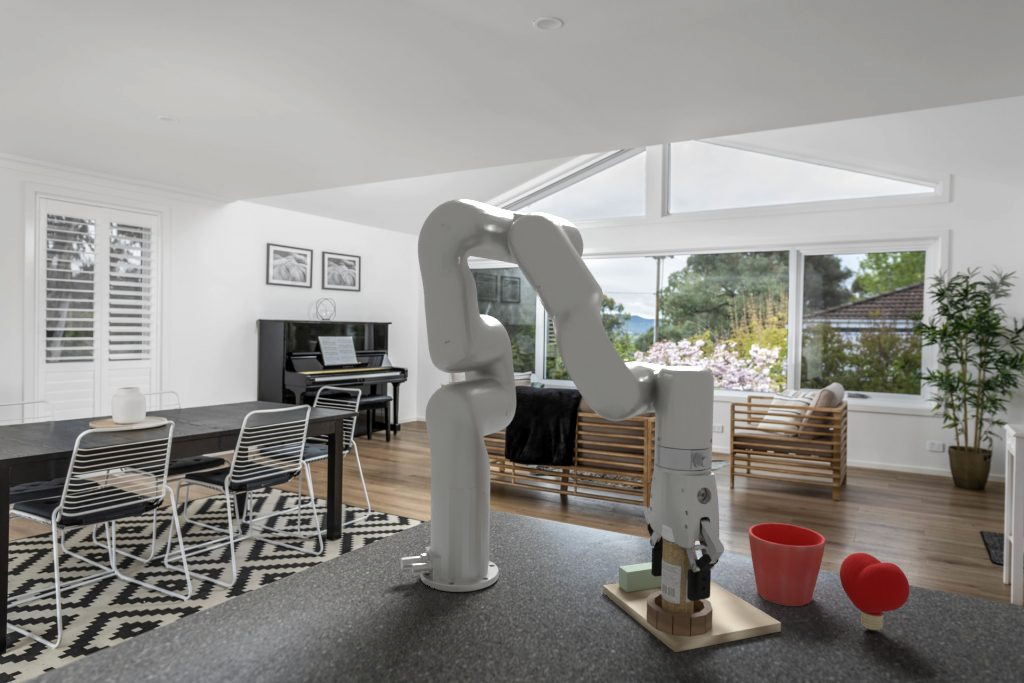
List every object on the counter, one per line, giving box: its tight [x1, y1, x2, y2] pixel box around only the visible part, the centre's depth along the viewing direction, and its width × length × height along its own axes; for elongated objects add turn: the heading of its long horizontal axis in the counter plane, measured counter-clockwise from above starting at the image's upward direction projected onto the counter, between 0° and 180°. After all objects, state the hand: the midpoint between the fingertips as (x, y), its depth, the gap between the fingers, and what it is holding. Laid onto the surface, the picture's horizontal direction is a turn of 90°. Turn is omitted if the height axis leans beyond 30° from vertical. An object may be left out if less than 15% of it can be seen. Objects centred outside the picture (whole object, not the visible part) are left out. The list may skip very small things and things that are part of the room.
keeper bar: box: [618, 556, 700, 592], centre depth 104 cm, size 14×2×4 cm, turn 111°
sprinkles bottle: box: [661, 524, 696, 614], centre depth 91 cm, size 5×5×14 cm
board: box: [602, 580, 782, 653], centre depth 97 cm, size 17×19×4 cm
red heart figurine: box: [839, 552, 910, 633], centre depth 91 cm, size 9×7×10 cm
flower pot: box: [748, 522, 826, 607], centre depth 103 cm, size 11×11×10 cm
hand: (679, 585), depth 91 cm, fingers open, 7 cm apart
